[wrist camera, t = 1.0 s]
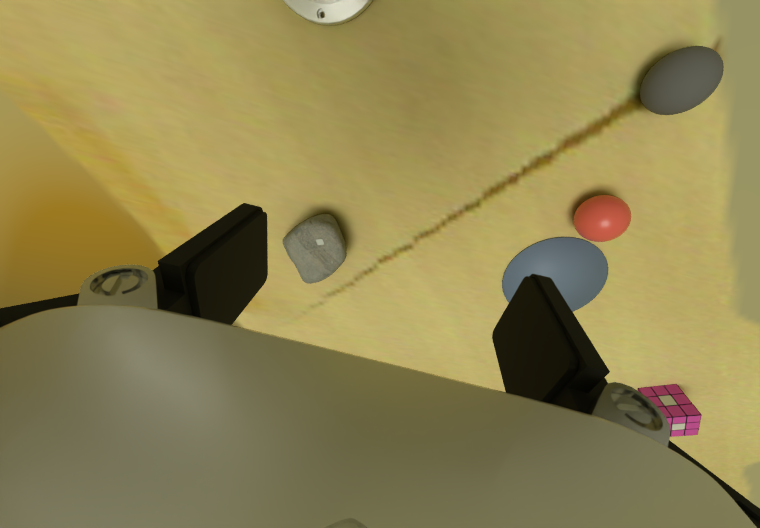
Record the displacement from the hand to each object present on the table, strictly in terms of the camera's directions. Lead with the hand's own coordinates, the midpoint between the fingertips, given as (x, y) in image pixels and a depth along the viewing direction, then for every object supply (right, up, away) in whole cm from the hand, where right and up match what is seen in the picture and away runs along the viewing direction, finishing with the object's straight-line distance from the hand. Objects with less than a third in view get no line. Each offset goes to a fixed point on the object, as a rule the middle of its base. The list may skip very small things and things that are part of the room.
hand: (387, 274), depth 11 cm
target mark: (+25, -2, +33) cm, 42 cm away
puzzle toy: (+49, -23, +43) cm, 69 cm away
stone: (-10, +4, +35) cm, 37 cm away
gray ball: (+28, +17, +17) cm, 37 cm away
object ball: (+26, +6, +25) cm, 36 cm away
